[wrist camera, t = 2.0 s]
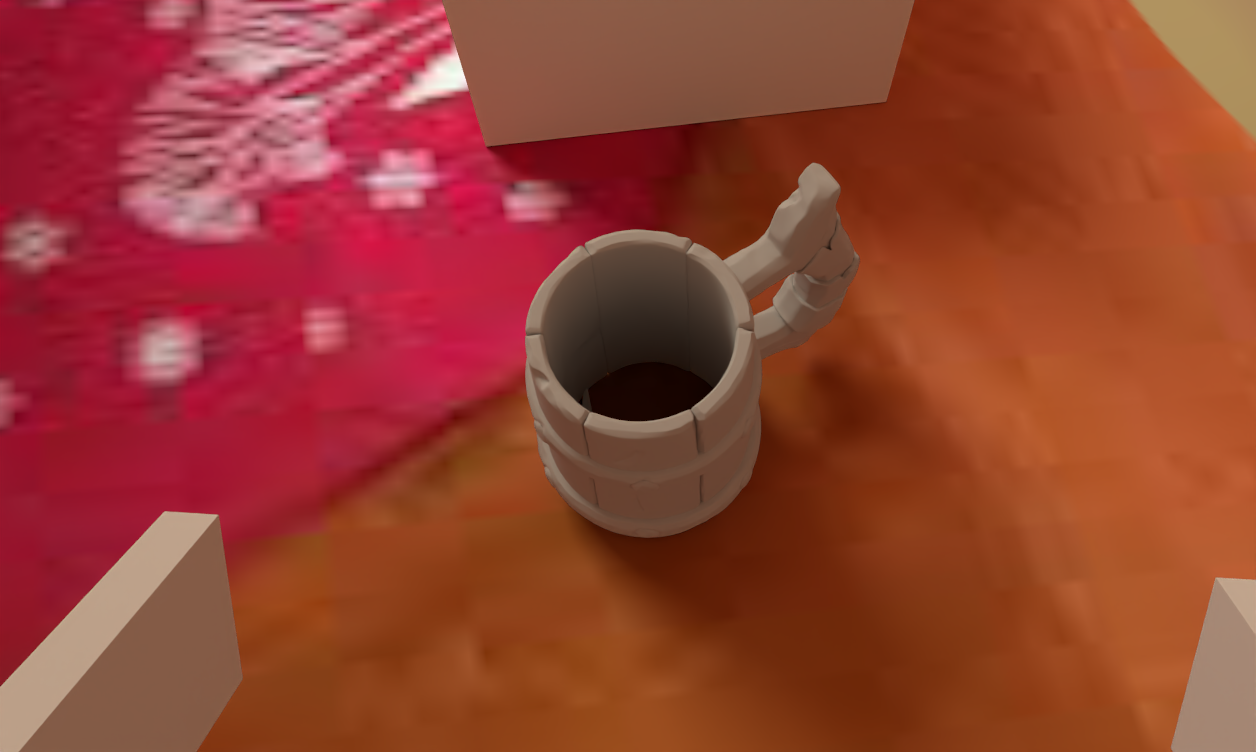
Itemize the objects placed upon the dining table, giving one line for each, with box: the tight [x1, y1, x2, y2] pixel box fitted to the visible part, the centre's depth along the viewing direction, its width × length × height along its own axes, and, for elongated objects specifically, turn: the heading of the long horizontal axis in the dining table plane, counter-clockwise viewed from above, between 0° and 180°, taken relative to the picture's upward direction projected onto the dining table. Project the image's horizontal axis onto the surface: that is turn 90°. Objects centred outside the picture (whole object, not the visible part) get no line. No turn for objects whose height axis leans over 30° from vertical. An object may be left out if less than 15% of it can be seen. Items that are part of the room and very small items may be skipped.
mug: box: [525, 163, 860, 538], centre depth 35 cm, size 8×12×12 cm, turn 124°
